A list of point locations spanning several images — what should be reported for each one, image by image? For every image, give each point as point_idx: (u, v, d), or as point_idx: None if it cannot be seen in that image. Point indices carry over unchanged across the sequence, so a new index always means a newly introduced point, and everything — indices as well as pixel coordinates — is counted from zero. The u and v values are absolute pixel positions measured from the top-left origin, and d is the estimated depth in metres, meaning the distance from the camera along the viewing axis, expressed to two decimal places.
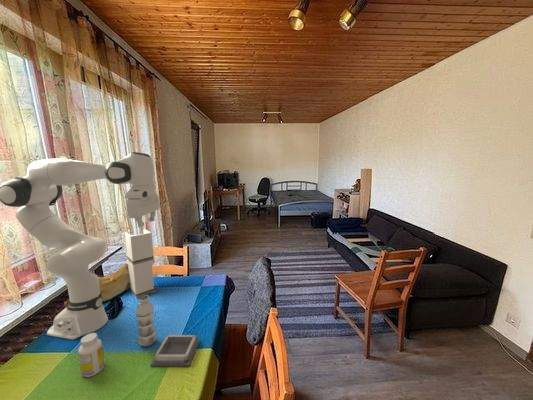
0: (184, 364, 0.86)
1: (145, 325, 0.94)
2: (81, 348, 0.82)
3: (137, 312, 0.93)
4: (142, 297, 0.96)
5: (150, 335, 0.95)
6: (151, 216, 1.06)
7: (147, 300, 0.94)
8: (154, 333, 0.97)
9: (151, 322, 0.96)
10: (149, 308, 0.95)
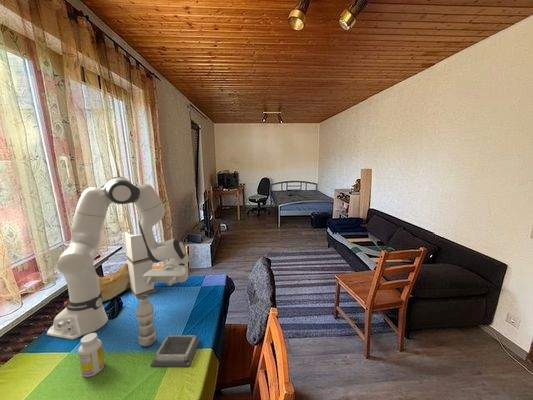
0: (184, 364, 0.86)
1: (145, 325, 0.94)
2: (81, 348, 0.82)
3: (137, 312, 0.93)
4: (142, 297, 0.96)
5: (150, 335, 0.95)
6: None
7: (147, 300, 0.94)
8: (154, 333, 0.97)
9: (151, 322, 0.96)
10: (149, 308, 0.95)
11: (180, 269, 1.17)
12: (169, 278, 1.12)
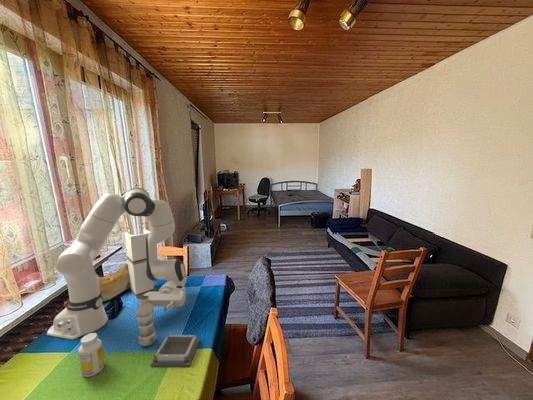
0: (184, 364, 0.86)
1: (145, 325, 0.94)
2: (81, 348, 0.82)
3: (137, 312, 0.93)
4: (142, 297, 0.96)
5: (150, 335, 0.95)
6: None
7: (147, 300, 0.94)
8: (154, 333, 0.97)
9: (151, 322, 0.96)
10: (149, 308, 0.95)
11: (177, 292, 1.14)
12: (166, 302, 1.09)
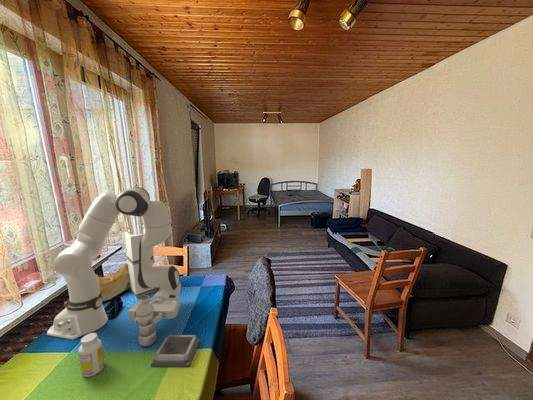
0: (184, 364, 0.86)
1: (145, 325, 0.94)
2: (81, 348, 0.82)
3: (137, 312, 0.93)
4: (142, 297, 0.96)
5: (150, 335, 0.95)
6: None
7: (147, 300, 0.94)
8: (154, 333, 0.97)
9: None
10: (149, 308, 0.95)
11: (170, 302, 1.05)
12: (157, 314, 1.01)
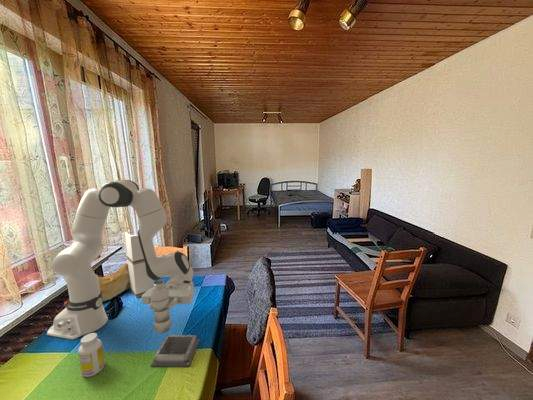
0: (184, 364, 0.86)
1: (161, 311, 0.90)
2: (81, 348, 0.82)
3: (152, 297, 0.89)
4: (157, 282, 0.92)
5: (165, 321, 0.91)
6: None
7: (162, 285, 0.90)
8: (170, 320, 0.93)
9: None
10: (165, 293, 0.91)
11: (185, 288, 1.01)
12: (172, 299, 0.97)
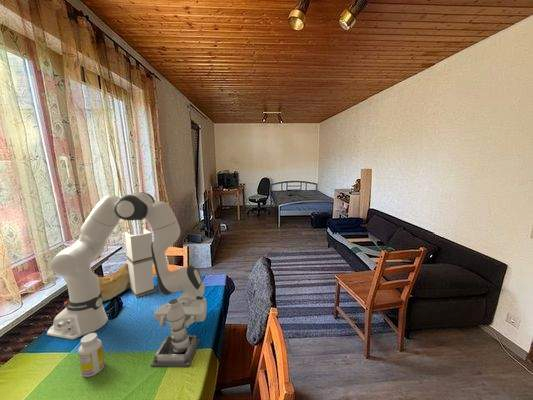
0: (184, 364, 0.86)
1: (178, 330, 0.88)
2: (81, 348, 0.82)
3: (168, 317, 0.88)
4: (172, 301, 0.91)
5: (183, 341, 0.90)
6: None
7: (177, 304, 0.89)
8: (187, 338, 0.91)
9: (183, 327, 0.90)
10: (180, 312, 0.89)
11: (198, 304, 1.00)
12: (185, 316, 0.95)
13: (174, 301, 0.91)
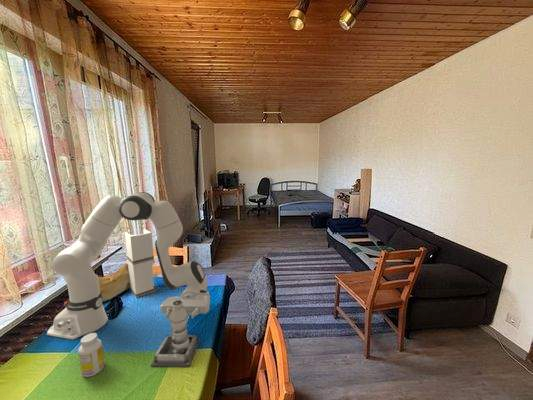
0: (184, 364, 0.86)
1: (179, 332, 0.89)
2: (81, 348, 0.82)
3: (171, 318, 0.88)
4: (175, 302, 0.91)
5: (183, 343, 0.90)
6: None
7: (181, 305, 0.89)
8: (188, 340, 0.92)
9: (185, 329, 0.90)
10: (183, 314, 0.89)
11: (201, 297, 1.05)
12: (190, 309, 1.00)
13: (178, 302, 0.91)
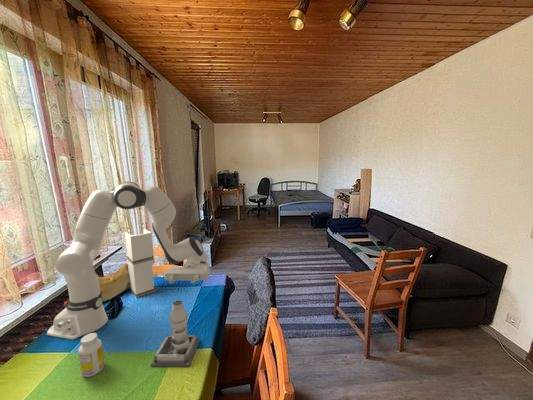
0: (184, 364, 0.86)
1: (179, 332, 0.89)
2: (81, 348, 0.82)
3: (171, 318, 0.88)
4: (176, 302, 0.91)
5: (183, 343, 0.90)
6: None
7: (181, 306, 0.89)
8: (188, 340, 0.92)
9: (185, 329, 0.90)
10: (183, 314, 0.89)
11: (201, 267, 1.15)
12: (191, 276, 1.11)
13: (178, 302, 0.91)
